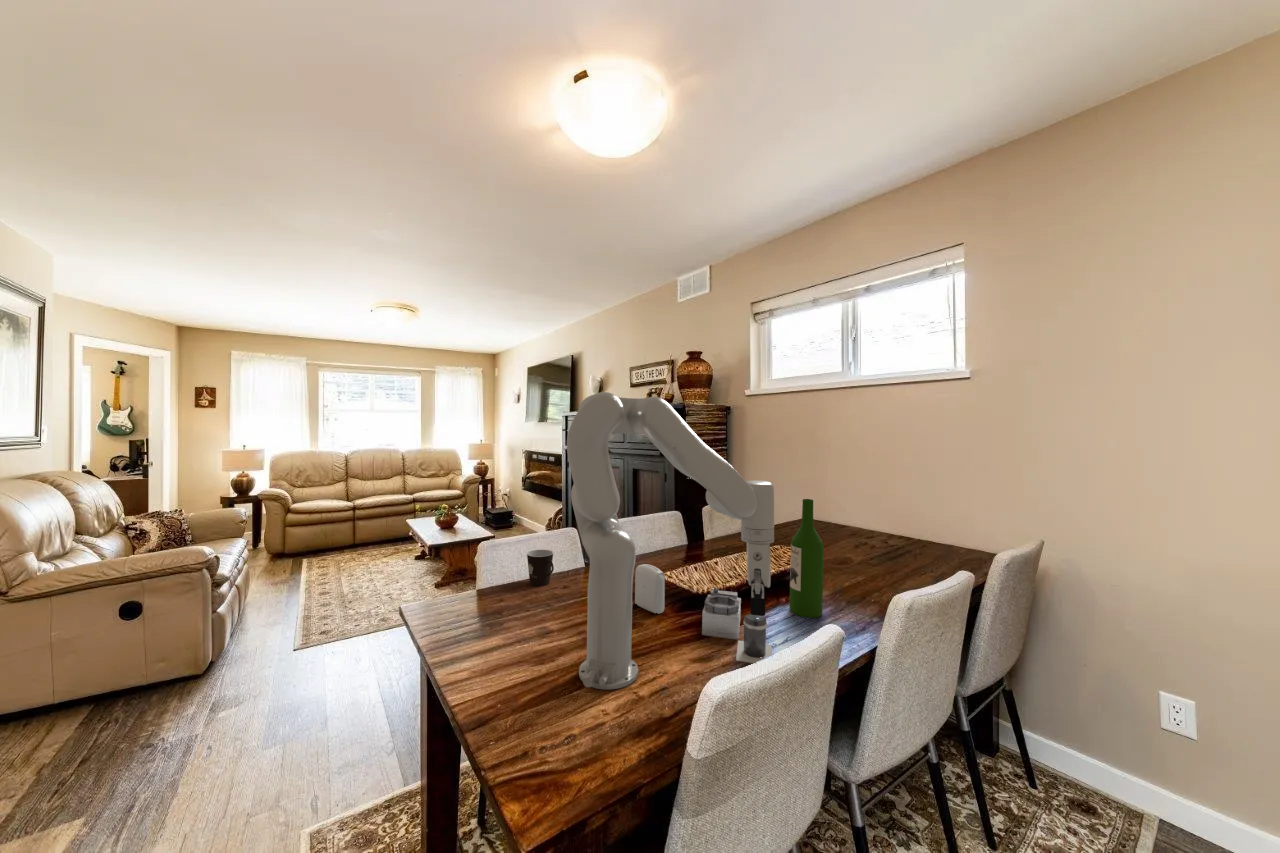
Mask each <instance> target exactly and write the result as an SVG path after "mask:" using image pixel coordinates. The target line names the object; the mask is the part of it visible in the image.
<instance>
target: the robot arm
mask: <svg viewBox="0 0 1280 853" xmlns="http://www.w3.org/2000/svg"><path fill="white" fill-rule="evenodd" d="M568 429H569V430H568V433H567V438H566V451H567V452H566V453H567V457H568V462H569V463H568V464H569V468H570V473H571V478H572V481H573V485H572V487H571V492H570V498H571V504H572V508H573V512H574V516H575V520H576V524H577V528H578V532H579V536H580V539H581V540H580V541H581V542H582V546H583V547H584V550H585V552H586V554H587V556H588V558H589V570H588V581H587V601H586V602H587V615H586V616H587V622H586V623H587V624H586V625H587V626H586V659H585V660H584V661H583V662H581V664H580V666H579V668H578V676H579V679H580V680H581V682H582V683H583V686H584V687H585V688H593V689H597V690H598V689H599V690H606V691H608V690H609V691H610V690H618V689H622V688H625V687H627V686H629V685H631V684H632V683H634V682H635V680H637V678H638V676H639V667H638V664H637V662H635V661H634V660H633V659H632V639H633V638H632V631H633V630H632V629H633V628H632V627H633V586H634V585H633V582H634V572H635V565H636V559H637V554H636V546H635V542H634V540H633V537H631V535H630V533H629V532H628V531H627V530H626V529H625V528H623V527H622V526H621V525H620V522H619V518H618V511H619V509H620V505H621V497H620V492H619V490H618V486H617V483H616V480H615V479H616V478H615V475H614V472H613V468H612V465H611V464H612V463H611V459H610V453H609V442H610V439H611V436H612V434H625V435H626V434H627V435H628V434H629V435H645V437H647V439H648V440H649V441H650V442H651V444H653V445H654V447H656V448H657V450H659V452H660V453H661V454H662V455H663V456H664V457H665V458H666V459H667V461H668V462H669V463H670V464H671V465H672V466H673V467H674V468H675V469H676V470H678V471H679V472H680V473H681V474H683V475H685V476H687V477H688V478H690V479H692V480H693V481H695V482H696V483H698V484H699V485H701V486H702V487H703V488H704V489H706V492H705V500H706V503H707V504H708V505H709V507H710V508H711V509H712V510H714V511H715V512H717V513H719V514H722V515H724V516H727V517H729V518H732V519H734V520H739V521H740V520H741V521H740V523H741V526H740V527H741V528H740V530H741V531H740V533H741V534H740V537H741V538H740V540H741V541H742V542H745V543H746V568H747V579H748V580H747V581H748V585H749V586H750V588H751V592H750V593H751V594H750V598H749V599H750V602H749V603H750V614H751V615H758V616H763V617H765V616H766V587H767V588H768V589H769V588H770V587H771V544H772V543H774V542H775V489H774V485H773V484H772V483H771V482H770V481H766V480H745V478H744V477H743V476H742V474H740V473H739V472H738V471H737V469H735V467H733V465H732V464H730V463H729V462H728V461H727V460H726V459H724V458H723V457H722V456H721V455H719V454H718V453H717V452H716V451H715V450H714V449H712V448H711V447H710V446H708V445H707V443H705V442H704V441H703V440H702V439H701V438H700V437H699V436H698V435H697V433H695V431H694V430H693V429H692V428H691V426H690V425H689V424H688V423H687V422H686V421H685V420H684V419H683V418H682V417H681V415H680V414H679V413H678V412H677V411H676V409H674V407H673V406H672V405H671V404H670V403H669V402H667V400H665V399H663V398H662V397H660V396H659V397H658V396H649V397H643V398H636V397H635V398H631V397H630V398H629V397H620V396H619V397H618V396H617V395H615V394H614V393H611V392H608V391H600V392H598V393H594V394H591V395H589V396H587V397H586V398H584V399H583V400H582V401H581V402H580V404H579V406H578V411H577V413H576V414H575V415H574V417H573V419H572V422H571V424H570V426H569V428H568Z"/></svg>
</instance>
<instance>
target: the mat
mask: <svg viewBox="0 0 1280 853" xmlns="http://www.w3.org/2000/svg"><path fill="white" fill-rule="evenodd" d="M736 647H737V649H736V655H735V656H736V657H735V658H736V659H735V661H737V662H744V663H752V664H755V663H754V662H756V661H759V660H761V659H764V658H766V657H769V656H771V655H772V656H773V646H772V644H767V643H766V654H765V656H764V657H762V658H754V657H750V656H748V655H746V654H745V653H744V640H739V639H738V640H737V646H736Z"/></svg>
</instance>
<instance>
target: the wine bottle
mask: <svg viewBox="0 0 1280 853" xmlns="http://www.w3.org/2000/svg"><path fill="white" fill-rule="evenodd" d="M801 511H802V512H801V525H800V527H799V528H798V530H797V531H796V533H795V534H794V536H792V538H791V541H790V565H789V566H790V571H789V572H790V573H789V574H790V576H789V577H790V579H789V580H790V581H789V611H790V613H792V614H794V615H795V616H797V617H801V618H808V619H809V618H810V619H813V618H814V619H815V618H819V617H821V616H822V615H823V593H824V592H823V589H824V552H825V551H824V549H825V548H824V543H823V540H822V539H821V537H820V535H819V534H818V532H817V530H816V529H815V526H814V499H812V498H811V499H810V498H803V499H802V510H801Z"/></svg>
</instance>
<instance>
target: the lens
mask: <svg viewBox="0 0 1280 853" xmlns="http://www.w3.org/2000/svg"><path fill="white" fill-rule="evenodd" d="M767 626H768V623H767V618H766V617H765V616H758V615H751V613H748V614H745V615H744V618H743V641H744V653H745V654H746V655H748V656H750V657H754V658H760V657H764V656H765V654H766V644H767V641H766V640H767Z"/></svg>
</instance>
